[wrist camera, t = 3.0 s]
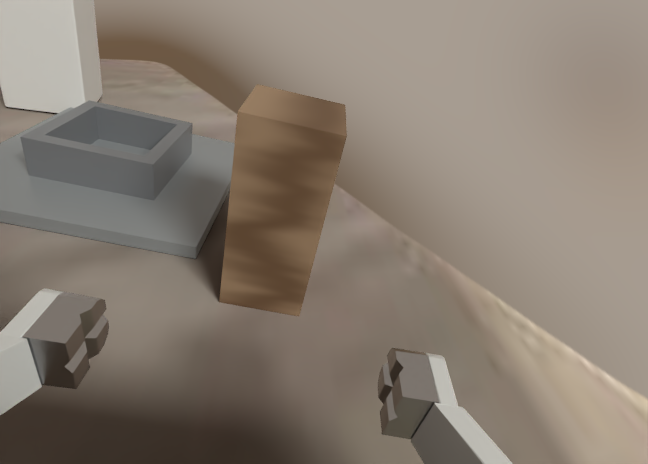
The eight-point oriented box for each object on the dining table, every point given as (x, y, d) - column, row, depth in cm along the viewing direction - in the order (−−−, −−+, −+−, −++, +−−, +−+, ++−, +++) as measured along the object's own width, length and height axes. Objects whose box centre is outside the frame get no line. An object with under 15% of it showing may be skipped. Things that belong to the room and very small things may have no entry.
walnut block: (219, 302, 24) (237, 111, 17) (236, 253, 28) (257, 84, 22) (299, 316, 24) (346, 136, 18) (304, 266, 29) (345, 104, 22)
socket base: (-89, 205, 25) (-114, 147, 23) (71, 116, 40) (65, 76, 38) (195, 258, 27) (197, 209, 24) (247, 154, 42) (251, 118, 39)
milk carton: (32, 86, 44) (-12, -139, 33) (103, 96, 46) (83, -113, 35) (4, 108, 38) (-58, -154, 28) (87, 118, 40) (57, -122, 30)
